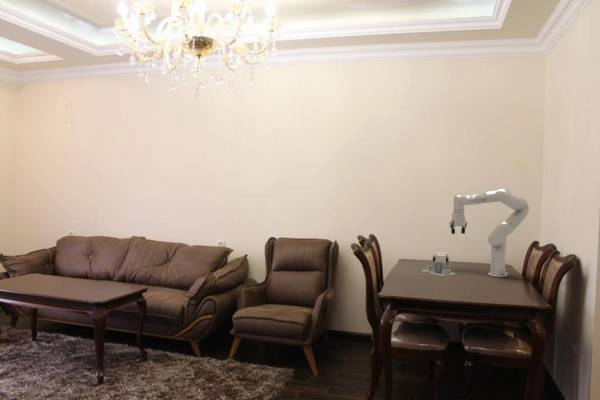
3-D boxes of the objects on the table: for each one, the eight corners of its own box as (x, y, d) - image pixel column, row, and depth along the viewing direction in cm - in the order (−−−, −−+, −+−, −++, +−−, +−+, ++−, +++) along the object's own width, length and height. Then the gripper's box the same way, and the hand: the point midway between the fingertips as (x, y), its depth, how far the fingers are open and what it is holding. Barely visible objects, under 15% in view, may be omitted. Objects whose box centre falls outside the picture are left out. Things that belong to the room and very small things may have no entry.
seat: (455, 274, 336) (455, 267, 336) (439, 275, 330) (440, 268, 330) (437, 270, 354) (437, 262, 354) (422, 271, 349) (422, 263, 349)
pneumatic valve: (448, 269, 356) (448, 254, 356) (432, 269, 359) (432, 253, 359) (447, 268, 361) (448, 253, 361) (432, 267, 364) (432, 252, 364)
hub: (445, 271, 340) (446, 263, 340) (438, 271, 338) (438, 263, 338) (439, 269, 347) (439, 261, 347) (432, 270, 344) (432, 262, 344)
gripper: (464, 211, 359) (463, 232, 360) (446, 211, 353) (445, 233, 353) (470, 211, 353) (470, 233, 353) (453, 211, 346) (452, 234, 346)
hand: (458, 233), depth 353 cm, fingers open, 9 cm apart
